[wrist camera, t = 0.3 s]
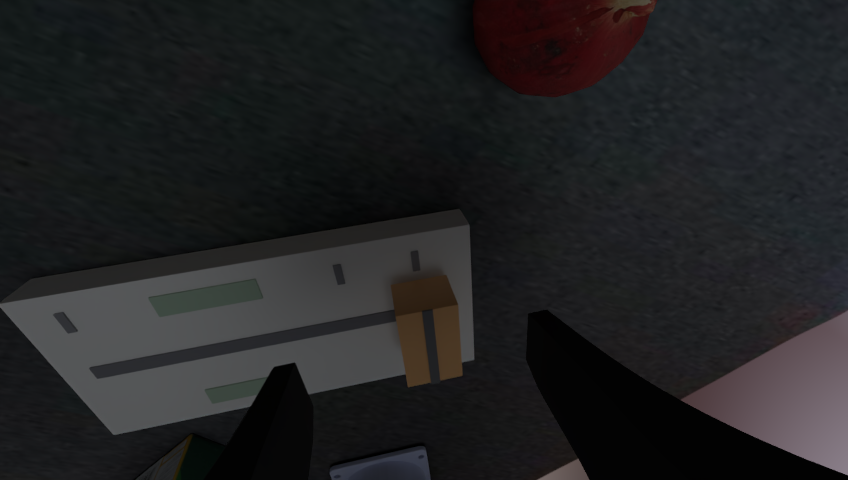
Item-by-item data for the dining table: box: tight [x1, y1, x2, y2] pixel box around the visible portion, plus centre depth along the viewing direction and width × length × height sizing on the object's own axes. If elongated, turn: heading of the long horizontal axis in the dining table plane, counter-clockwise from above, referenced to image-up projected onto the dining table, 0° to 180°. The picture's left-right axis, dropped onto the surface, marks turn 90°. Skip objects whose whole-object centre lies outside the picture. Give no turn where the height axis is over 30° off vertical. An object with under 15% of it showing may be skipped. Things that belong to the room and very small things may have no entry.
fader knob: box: [391, 275, 463, 387], centre depth 19 cm, size 5×3×3 cm, turn 5°
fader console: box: [0, 209, 474, 435], centre depth 21 cm, size 10×22×2 cm, turn 95°
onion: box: [473, 0, 657, 97], centre depth 13 cm, size 6×6×8 cm
